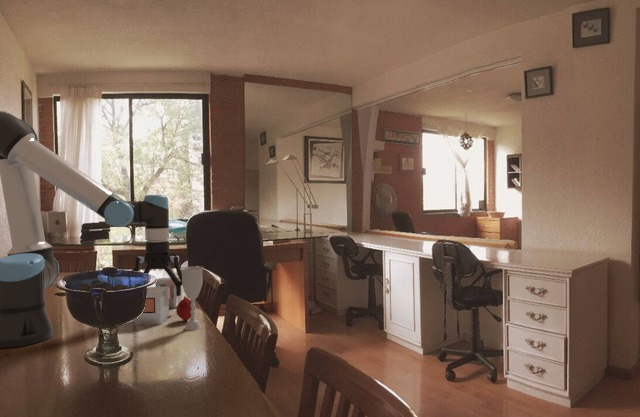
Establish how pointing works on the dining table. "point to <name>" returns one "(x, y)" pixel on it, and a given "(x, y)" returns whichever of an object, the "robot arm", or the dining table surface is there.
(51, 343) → the dining table surface
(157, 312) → the plate
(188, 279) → the chalice
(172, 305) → the socket
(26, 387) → the dining table surface
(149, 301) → the pink square post
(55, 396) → the dining table surface
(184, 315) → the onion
